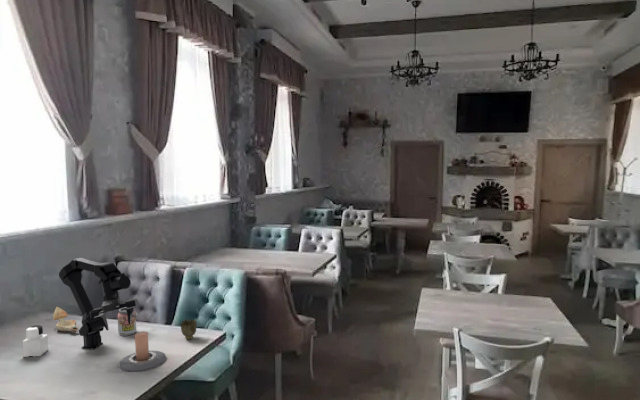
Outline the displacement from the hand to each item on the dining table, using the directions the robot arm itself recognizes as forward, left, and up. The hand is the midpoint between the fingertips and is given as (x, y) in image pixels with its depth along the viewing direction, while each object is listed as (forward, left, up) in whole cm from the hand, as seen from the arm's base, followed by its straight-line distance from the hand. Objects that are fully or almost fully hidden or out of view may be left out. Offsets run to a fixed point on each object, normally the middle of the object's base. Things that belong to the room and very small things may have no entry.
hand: (118, 327), depth 191 cm
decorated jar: (-11, +23, -12) cm, 28 cm away
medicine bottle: (-38, -4, -12) cm, 40 cm away
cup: (+22, +20, -12) cm, 32 cm away
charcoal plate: (+14, -6, -12) cm, 20 cm away
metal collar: (+14, -6, -12) cm, 20 cm away
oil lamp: (-45, +23, -12) cm, 51 cm away
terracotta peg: (+14, -6, -11) cm, 19 cm away
